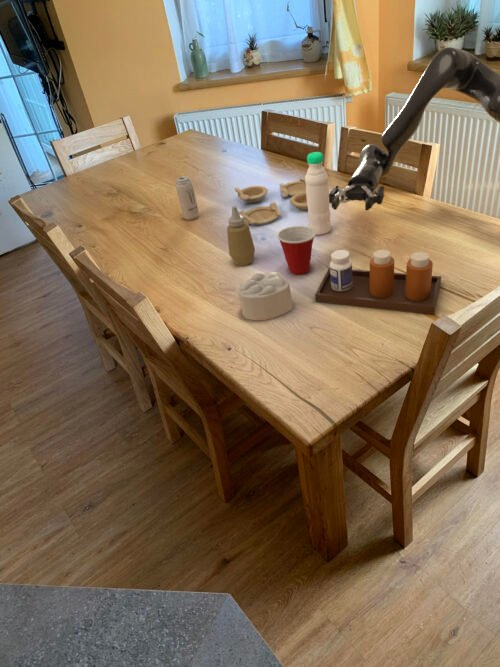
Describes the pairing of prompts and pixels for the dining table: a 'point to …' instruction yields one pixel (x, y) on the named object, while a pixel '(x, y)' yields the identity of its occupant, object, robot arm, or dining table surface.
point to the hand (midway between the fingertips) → (350, 206)
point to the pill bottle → (341, 271)
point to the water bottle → (317, 194)
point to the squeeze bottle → (240, 239)
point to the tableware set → (271, 212)
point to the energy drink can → (187, 198)
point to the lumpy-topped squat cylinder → (265, 296)
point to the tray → (364, 298)
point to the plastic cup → (297, 247)
